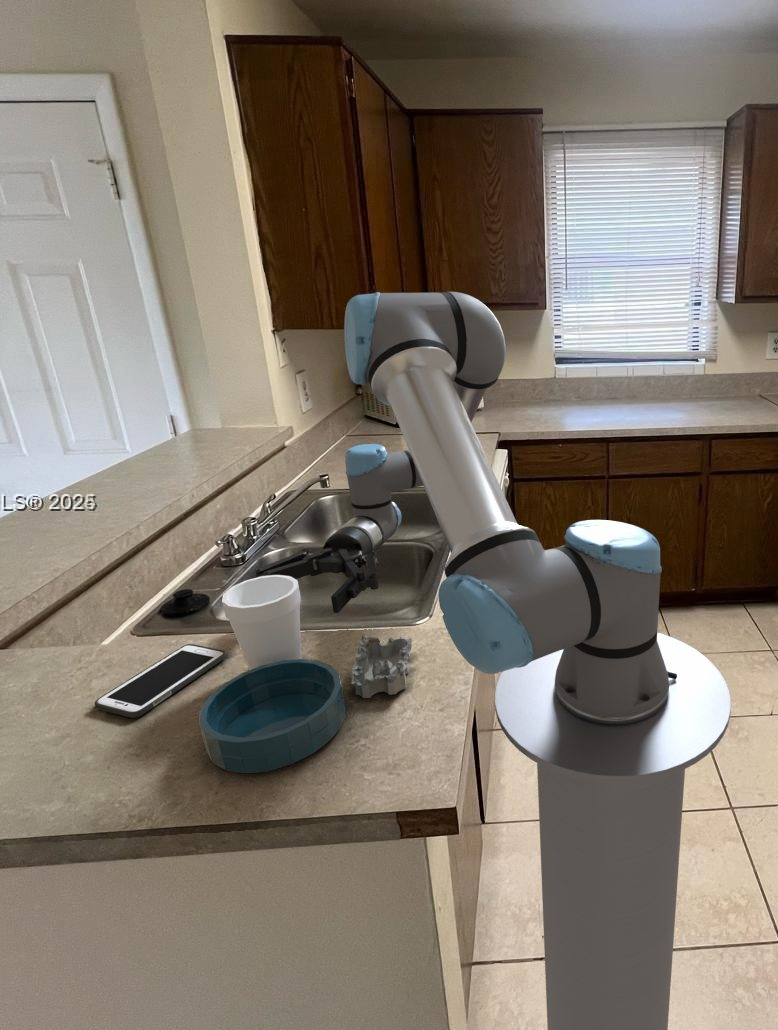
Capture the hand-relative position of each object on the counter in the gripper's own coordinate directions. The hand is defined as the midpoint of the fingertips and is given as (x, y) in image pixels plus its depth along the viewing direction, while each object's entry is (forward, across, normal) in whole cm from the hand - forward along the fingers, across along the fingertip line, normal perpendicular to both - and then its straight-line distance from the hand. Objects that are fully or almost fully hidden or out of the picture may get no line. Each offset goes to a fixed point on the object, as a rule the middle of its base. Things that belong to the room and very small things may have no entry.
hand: (290, 603), depth 91 cm
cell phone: (+10, +14, -8) cm, 19 cm away
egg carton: (+6, -16, -8) cm, 19 cm away
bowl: (+18, -7, -8) cm, 20 cm away
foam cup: (+6, 0, -8) cm, 10 cm away
